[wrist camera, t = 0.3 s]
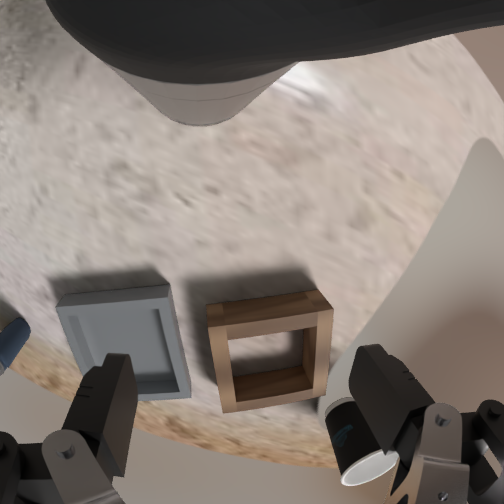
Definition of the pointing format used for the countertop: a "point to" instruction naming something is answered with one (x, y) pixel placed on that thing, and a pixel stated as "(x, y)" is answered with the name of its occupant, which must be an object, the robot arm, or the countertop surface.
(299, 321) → the hollow wooden square
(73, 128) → the countertop surface
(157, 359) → the tray
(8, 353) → the vaping device
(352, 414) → the dixie cup
